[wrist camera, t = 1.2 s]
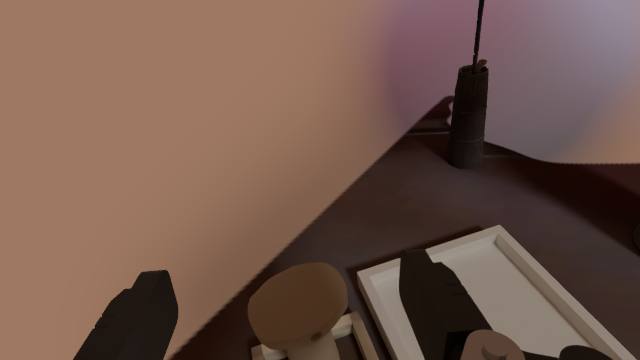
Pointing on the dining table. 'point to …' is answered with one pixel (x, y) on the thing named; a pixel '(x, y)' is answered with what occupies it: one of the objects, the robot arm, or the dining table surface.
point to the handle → (300, 311)
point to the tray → (492, 299)
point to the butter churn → (469, 110)
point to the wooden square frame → (346, 325)
